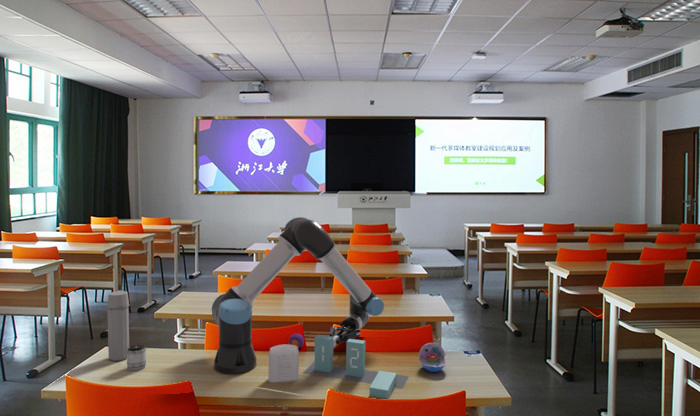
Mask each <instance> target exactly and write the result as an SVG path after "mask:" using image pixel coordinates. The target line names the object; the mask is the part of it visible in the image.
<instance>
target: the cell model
mask: <svg viewBox="0 0 700 416" xmlns="http://www.w3.org/2000/svg"><path fill="white" fill-rule="evenodd" d="M446 355H447V353H445V350H444V348H443V346H441V345H440V344H438V343H434V342H428V343H426V344H424V345H422V346H421V348H420V350H419V352H418V360H419V363H420V364H421V366H422V368H423V369H425V370H426V371H428V372H430V373H437V372H440V371H442V370H443V369H445V366H446V364H447V360H446V359H445V357H446Z"/></svg>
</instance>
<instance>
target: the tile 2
mask: <svg viewBox="0 0 700 416" xmlns="http://www.w3.org/2000/svg"><path fill="white" fill-rule="evenodd" d="M345 344H346V346H345V347H346V348H345V349H346V351H345V353H346V354H345V355H346V358H345V362H346V363H345V367H346V375H350V376H356V377H363V376H364V375H365V370H366V340H363V339H362V340H361V339H356V338H354V339H349V340H348V341H347V343H345Z"/></svg>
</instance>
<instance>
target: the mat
mask: <svg viewBox="0 0 700 416" xmlns="http://www.w3.org/2000/svg"><path fill="white" fill-rule="evenodd" d="M314 362H315V361H313V363H311V364H310V365H309V366H308V367H307V368H306V369H304V371H303V372H302V373H303V374H308V375H313V376H314V375H315V376H321V377H327V378H334V379H339V380H347V381H351V382H353V381H354V382H358V383H364V384H365V383H366V384H370V385H371V384H372V382H373V381H374V379H375V377H376V376H377V374H378V372H379V371H374V370H369V369H365V375H364V376H363V377H356V376H350V375H346V366H340V365H334V364H333V370H332V371H331V372H323V371H317V370H314ZM409 377H410V376H409V375H404V374H397V382H396V384H395V386H394V388H397V389H404V387H405V386H406V383H407V381H408V380H409Z"/></svg>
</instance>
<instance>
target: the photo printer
mask: <svg viewBox="0 0 700 416" xmlns="http://www.w3.org/2000/svg"><path fill="white" fill-rule="evenodd" d="M299 352H300V351H299V348H298V347H297V346H294V345H289V343H288V344H278V345H274V346H272V347H270V348H269V352H268V375H267V376H268V382H269V383H283V382H294V381H298V380H299V370H300V369H299V367H300V366H299V363H300V354H299Z"/></svg>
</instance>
